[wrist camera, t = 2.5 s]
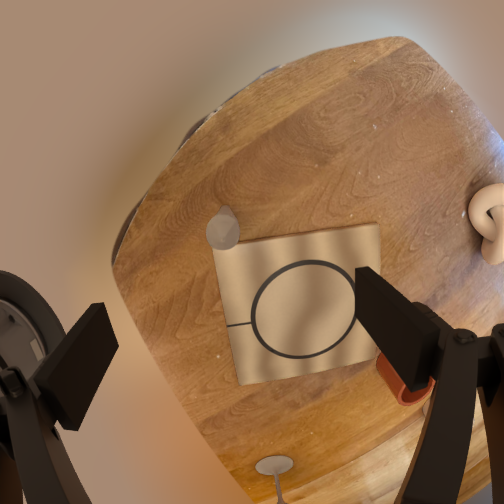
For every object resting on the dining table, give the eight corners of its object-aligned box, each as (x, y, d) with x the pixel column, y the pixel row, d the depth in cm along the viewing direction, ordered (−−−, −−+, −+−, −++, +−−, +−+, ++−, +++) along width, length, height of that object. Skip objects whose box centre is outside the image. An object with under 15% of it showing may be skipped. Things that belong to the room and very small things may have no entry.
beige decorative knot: (488, 265, 40) (524, 284, 31) (447, 242, 37) (488, 261, 29) (510, 203, 37) (548, 214, 28) (471, 170, 35) (515, 177, 26)
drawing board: (238, 381, 41) (239, 386, 40) (212, 245, 35) (211, 248, 34) (372, 354, 42) (375, 358, 41) (376, 222, 36) (380, 224, 35)
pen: (212, 220, 34) (203, 259, 21) (213, 196, 34) (203, 219, 20) (235, 220, 34) (240, 259, 21) (236, 196, 34) (242, 220, 20)
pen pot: (374, 378, 43) (394, 411, 36) (377, 347, 41) (401, 379, 34) (408, 368, 44) (430, 397, 36) (413, 336, 42) (439, 365, 34)
